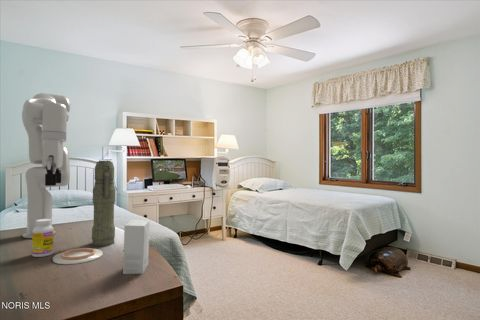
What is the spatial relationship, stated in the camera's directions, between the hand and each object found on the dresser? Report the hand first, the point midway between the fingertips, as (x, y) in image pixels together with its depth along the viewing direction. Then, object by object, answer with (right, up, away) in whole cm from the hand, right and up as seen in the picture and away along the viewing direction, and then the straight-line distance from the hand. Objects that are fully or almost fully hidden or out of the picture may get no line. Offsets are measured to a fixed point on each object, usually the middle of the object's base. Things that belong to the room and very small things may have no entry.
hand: (53, 184), depth 108 cm
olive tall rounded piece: (+10, -27, +18) cm, 34 cm away
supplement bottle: (-5, -27, +2) cm, 27 cm away
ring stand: (+9, -27, +1) cm, 28 cm away
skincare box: (+34, -27, -11) cm, 45 cm away
